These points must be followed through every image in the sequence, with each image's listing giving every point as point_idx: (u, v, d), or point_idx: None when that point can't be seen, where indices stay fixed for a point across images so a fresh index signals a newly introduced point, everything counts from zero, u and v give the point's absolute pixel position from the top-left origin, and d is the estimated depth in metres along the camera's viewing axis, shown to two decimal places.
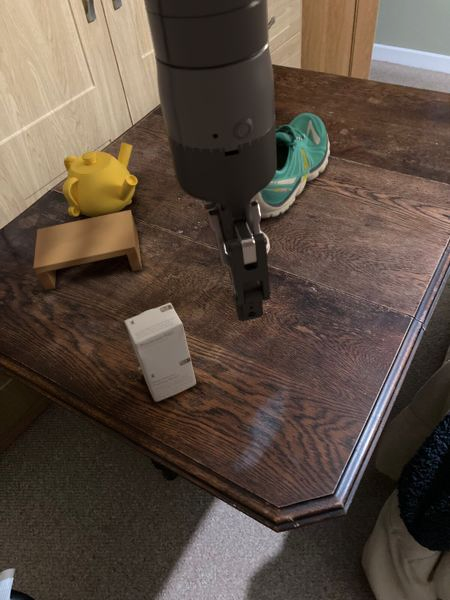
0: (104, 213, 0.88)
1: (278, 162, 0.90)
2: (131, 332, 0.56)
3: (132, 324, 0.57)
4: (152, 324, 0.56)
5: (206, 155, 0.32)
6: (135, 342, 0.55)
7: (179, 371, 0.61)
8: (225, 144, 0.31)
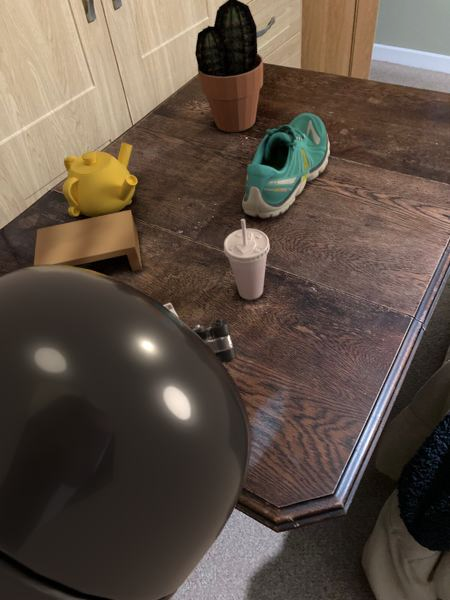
0: (104, 213, 0.88)
1: (278, 162, 0.90)
2: None
3: None
4: None
5: None
6: None
7: None
8: None
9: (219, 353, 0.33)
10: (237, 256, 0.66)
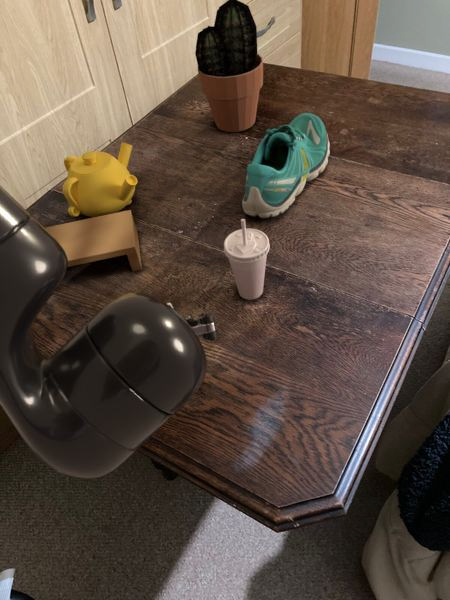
0: (104, 213, 0.88)
1: (278, 162, 0.90)
2: None
3: None
4: None
5: None
6: None
7: None
8: None
9: (206, 334, 0.51)
10: (237, 256, 0.66)
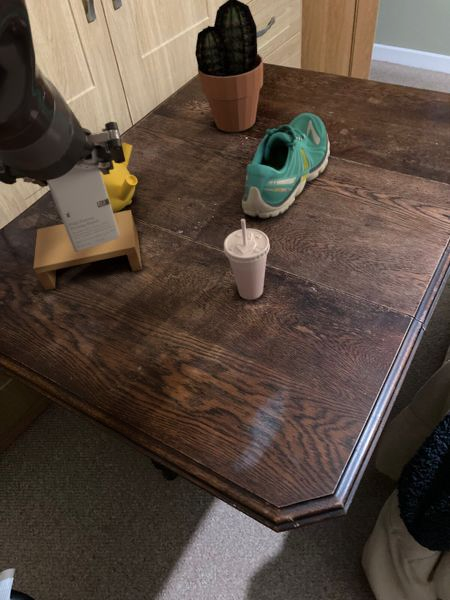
0: None
1: (278, 162, 0.90)
2: None
3: None
4: None
5: None
6: None
7: (97, 215, 0.59)
8: None
9: (109, 141, 0.48)
10: (237, 256, 0.66)
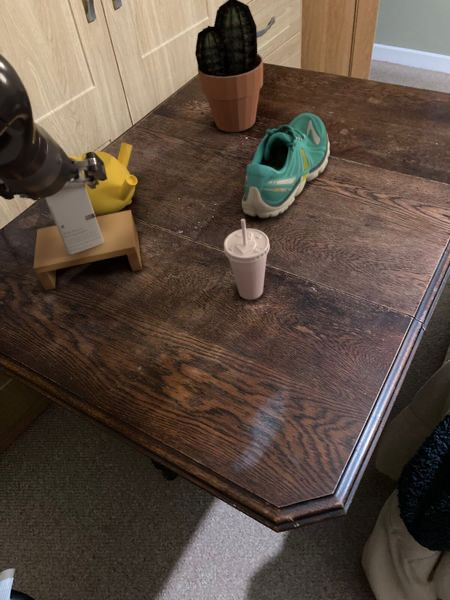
0: (104, 213, 0.88)
1: (278, 162, 0.90)
2: None
3: None
4: None
5: None
6: None
7: (86, 226, 0.75)
8: None
9: (89, 167, 0.64)
10: (237, 256, 0.66)
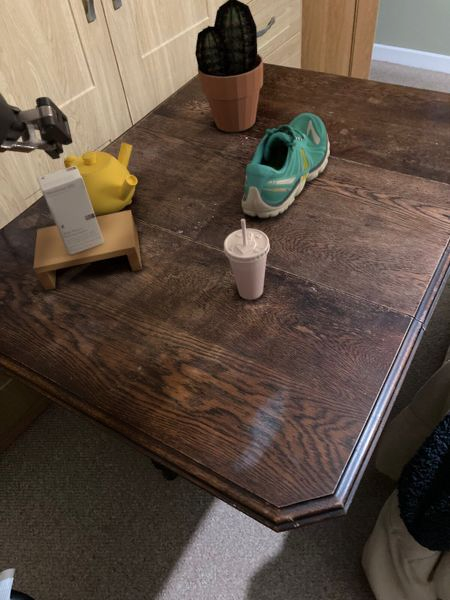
0: (104, 213, 0.88)
1: (278, 162, 0.90)
2: (40, 184, 0.70)
3: (42, 179, 0.71)
4: (58, 178, 0.70)
5: None
6: (42, 190, 0.69)
7: (86, 225, 0.75)
8: None
9: (40, 120, 0.43)
10: (237, 256, 0.66)
